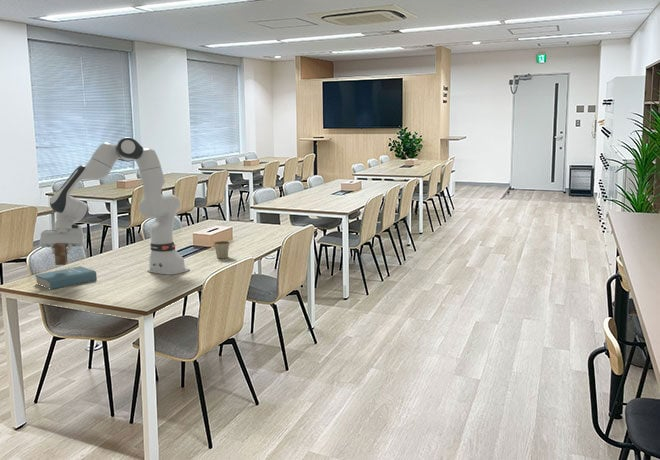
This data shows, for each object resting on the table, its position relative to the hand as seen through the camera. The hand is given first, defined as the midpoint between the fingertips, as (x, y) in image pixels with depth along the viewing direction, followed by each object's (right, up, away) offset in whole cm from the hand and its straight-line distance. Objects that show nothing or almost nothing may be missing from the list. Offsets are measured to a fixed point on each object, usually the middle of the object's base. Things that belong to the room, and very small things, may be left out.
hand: (60, 253), depth 292 cm
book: (+2, -15, +1) cm, 15 cm away
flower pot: (+69, -5, +53) cm, 87 cm away
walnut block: (0, -5, +2) cm, 5 cm away
